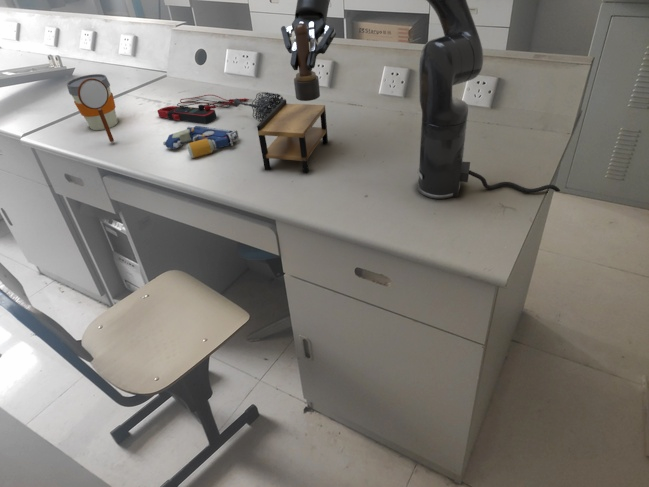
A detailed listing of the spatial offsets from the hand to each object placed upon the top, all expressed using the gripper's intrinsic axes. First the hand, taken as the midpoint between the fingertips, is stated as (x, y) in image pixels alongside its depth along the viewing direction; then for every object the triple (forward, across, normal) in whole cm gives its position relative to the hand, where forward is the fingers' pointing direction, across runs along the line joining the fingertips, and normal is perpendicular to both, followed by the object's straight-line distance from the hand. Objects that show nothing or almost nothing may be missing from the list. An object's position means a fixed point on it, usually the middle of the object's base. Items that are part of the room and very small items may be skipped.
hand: (301, 68), depth 107 cm
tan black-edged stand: (+16, -5, +18) cm, 25 cm away
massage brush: (+1, -24, +33) cm, 41 cm away
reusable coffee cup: (+8, -80, +27) cm, 85 cm away
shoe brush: (+4, 0, +7) cm, 8 cm away
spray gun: (+15, -36, +19) cm, 43 cm away
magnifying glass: (+17, -66, +18) cm, 70 cm away
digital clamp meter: (-4, -50, +38) cm, 63 cm away
